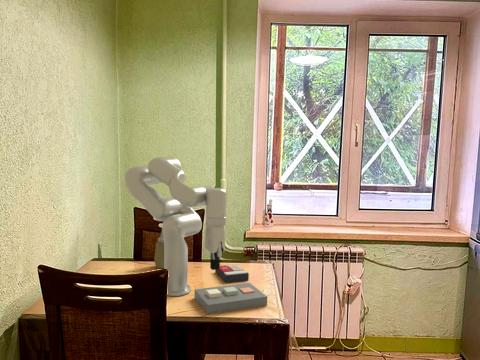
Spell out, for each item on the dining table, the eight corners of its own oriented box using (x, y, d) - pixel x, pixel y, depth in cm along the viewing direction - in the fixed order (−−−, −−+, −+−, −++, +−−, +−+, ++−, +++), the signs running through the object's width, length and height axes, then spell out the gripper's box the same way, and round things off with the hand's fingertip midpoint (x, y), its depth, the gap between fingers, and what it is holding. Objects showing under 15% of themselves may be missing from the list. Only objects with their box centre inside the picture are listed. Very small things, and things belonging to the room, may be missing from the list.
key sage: (227, 298, 157) (227, 291, 157) (223, 294, 161) (223, 287, 161) (237, 296, 159) (237, 290, 158) (233, 292, 163) (233, 286, 162)
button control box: (236, 263, 198) (248, 271, 184) (236, 272, 199) (248, 281, 185) (215, 265, 194) (225, 273, 180) (215, 274, 194) (225, 283, 181)
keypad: (207, 314, 148) (208, 304, 148) (194, 298, 162) (194, 289, 162) (266, 305, 158) (267, 296, 157) (249, 290, 172) (249, 282, 172)
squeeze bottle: (156, 264, 204) (156, 228, 202) (172, 264, 203) (172, 229, 202) (152, 269, 196) (152, 232, 194) (169, 270, 195) (169, 233, 194)
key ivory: (209, 300, 154) (210, 294, 154) (206, 296, 158) (206, 290, 158) (220, 299, 156) (221, 292, 156) (216, 294, 160) (216, 288, 160)
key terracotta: (243, 298, 160) (244, 292, 160) (239, 294, 164) (239, 288, 164) (253, 297, 162) (254, 291, 161) (249, 293, 166) (249, 287, 165)
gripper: (199, 218, 159) (199, 264, 161) (213, 225, 146) (212, 276, 147) (218, 217, 162) (217, 262, 164) (232, 224, 149) (231, 273, 150)
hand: (214, 268), depth 156 cm, fingers closed
